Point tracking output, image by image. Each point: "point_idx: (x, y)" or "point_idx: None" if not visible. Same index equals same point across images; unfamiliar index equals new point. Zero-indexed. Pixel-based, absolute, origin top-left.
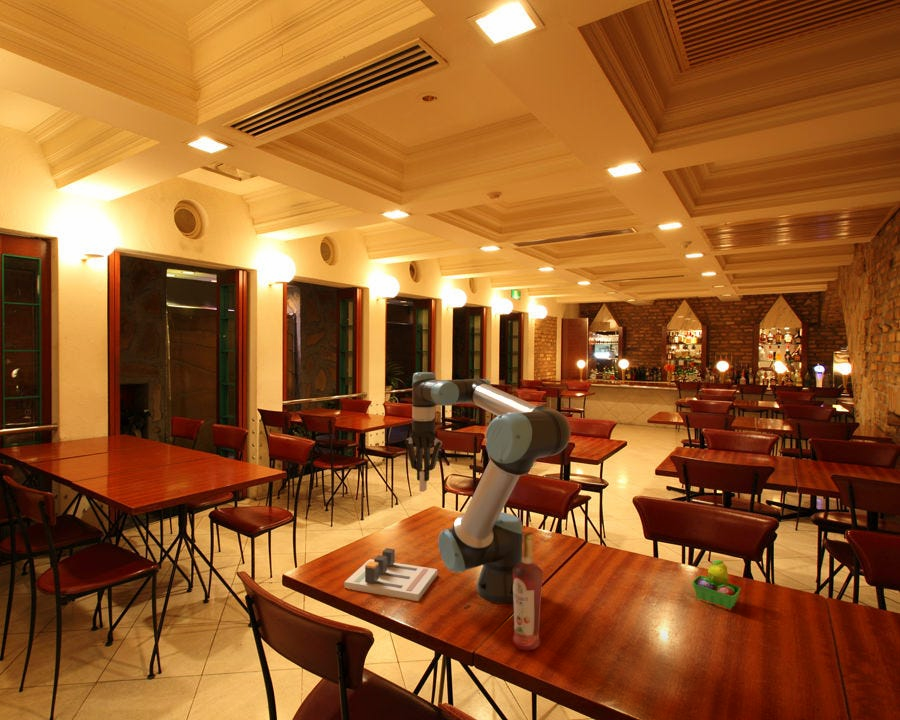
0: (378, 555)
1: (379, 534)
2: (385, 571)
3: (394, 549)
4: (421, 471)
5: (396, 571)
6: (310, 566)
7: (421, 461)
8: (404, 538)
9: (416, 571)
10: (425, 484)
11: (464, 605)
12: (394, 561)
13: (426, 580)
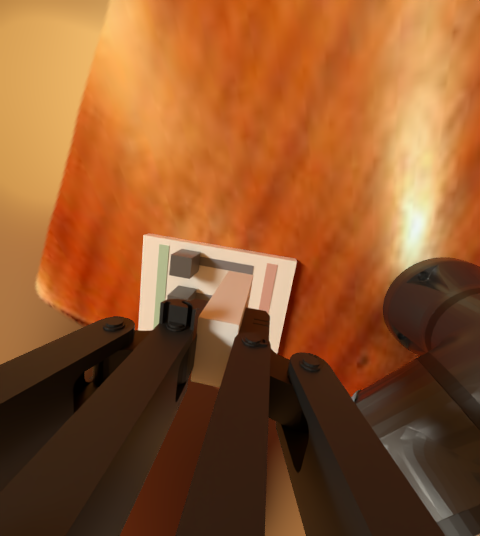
0: (168, 296)
1: (102, 44)
2: (195, 295)
3: (191, 259)
4: (204, 374)
5: (215, 283)
6: (48, 257)
7: (163, 408)
8: (175, 57)
9: (254, 277)
10: (247, 304)
11: (357, 359)
12: (199, 252)
13: (282, 311)
